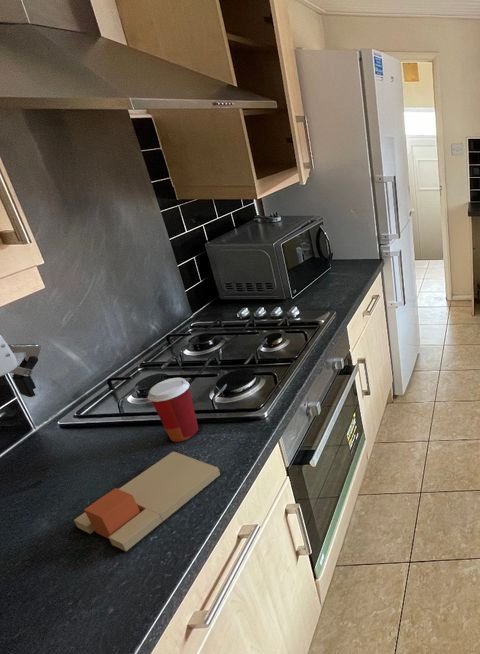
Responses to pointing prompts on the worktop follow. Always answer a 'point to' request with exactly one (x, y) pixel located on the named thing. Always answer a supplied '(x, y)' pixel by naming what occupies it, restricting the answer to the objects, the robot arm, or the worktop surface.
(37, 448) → the worktop surface
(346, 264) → the worktop surface
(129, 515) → the orange block
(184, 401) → the paper cup
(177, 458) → the base pad
